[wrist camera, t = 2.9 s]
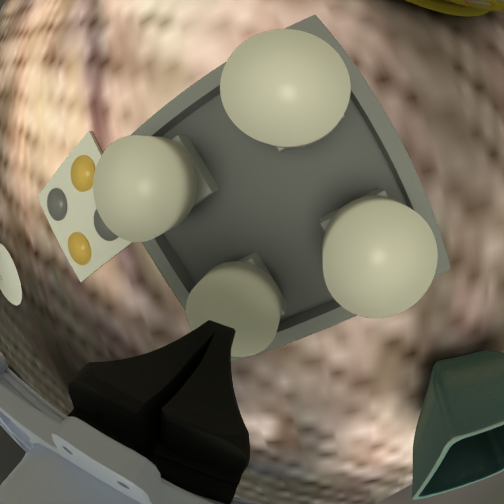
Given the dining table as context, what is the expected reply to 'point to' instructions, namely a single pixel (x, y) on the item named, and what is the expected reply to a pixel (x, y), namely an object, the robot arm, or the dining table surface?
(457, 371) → the flower pot
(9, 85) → the dining table surface
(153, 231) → the button
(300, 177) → the button board
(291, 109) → the button
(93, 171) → the card
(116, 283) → the dining table surface
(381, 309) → the button
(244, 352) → the button
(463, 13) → the flowerpot
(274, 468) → the dining table surface
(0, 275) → the wineglass
